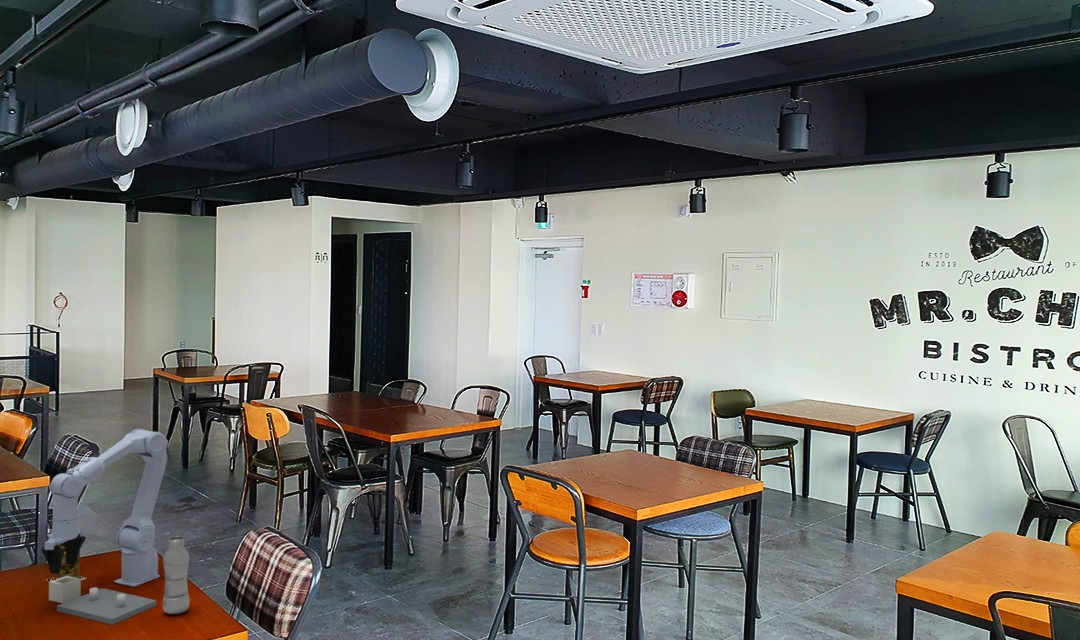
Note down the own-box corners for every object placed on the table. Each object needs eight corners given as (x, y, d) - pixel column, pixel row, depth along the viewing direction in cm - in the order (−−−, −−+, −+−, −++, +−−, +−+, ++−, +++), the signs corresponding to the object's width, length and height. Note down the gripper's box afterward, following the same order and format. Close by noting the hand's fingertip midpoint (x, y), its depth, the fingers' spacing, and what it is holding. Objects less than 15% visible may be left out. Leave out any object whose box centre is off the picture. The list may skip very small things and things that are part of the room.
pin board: (102, 593, 230) (102, 577, 230) (156, 605, 223) (156, 589, 223) (56, 611, 217) (56, 594, 217) (112, 624, 210) (112, 607, 210)
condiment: (62, 586, 235) (63, 545, 234) (45, 580, 239) (46, 539, 238) (87, 579, 241) (87, 538, 241) (70, 573, 245) (70, 533, 245)
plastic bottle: (179, 618, 215) (180, 543, 214) (156, 615, 217) (157, 540, 216) (194, 609, 222) (195, 536, 221) (172, 606, 223) (173, 533, 222)
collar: (66, 593, 230) (66, 575, 229) (80, 596, 228) (80, 578, 227) (48, 599, 225) (48, 581, 224) (62, 603, 223) (62, 585, 222)
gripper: (65, 511, 229) (63, 559, 229) (33, 525, 214) (32, 576, 215) (90, 512, 229) (89, 560, 229) (60, 526, 214) (59, 577, 215)
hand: (63, 568), depth 222 cm, fingers open, 7 cm apart
